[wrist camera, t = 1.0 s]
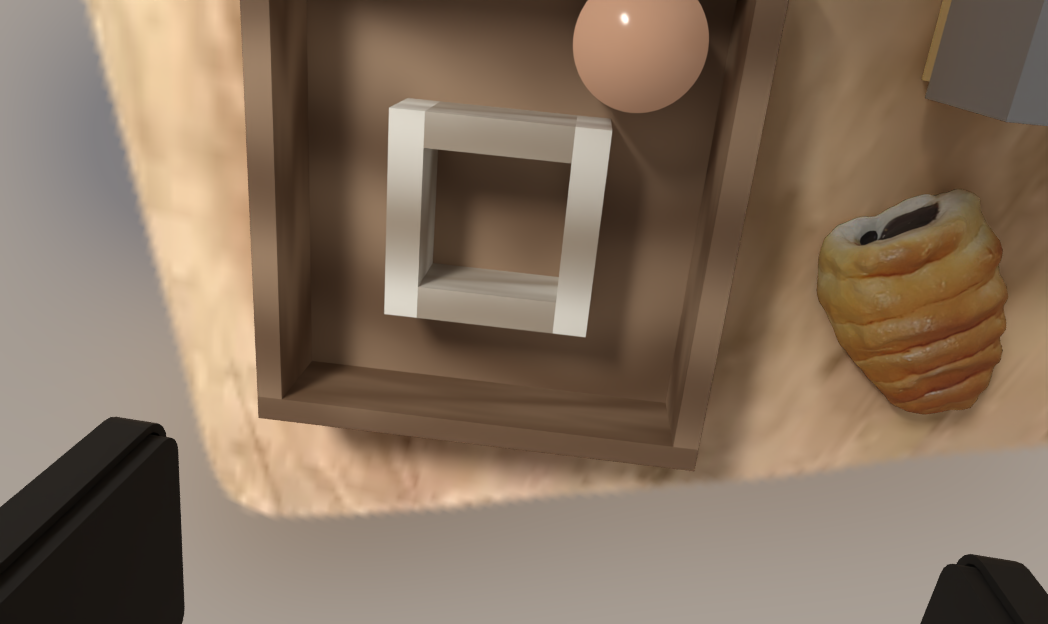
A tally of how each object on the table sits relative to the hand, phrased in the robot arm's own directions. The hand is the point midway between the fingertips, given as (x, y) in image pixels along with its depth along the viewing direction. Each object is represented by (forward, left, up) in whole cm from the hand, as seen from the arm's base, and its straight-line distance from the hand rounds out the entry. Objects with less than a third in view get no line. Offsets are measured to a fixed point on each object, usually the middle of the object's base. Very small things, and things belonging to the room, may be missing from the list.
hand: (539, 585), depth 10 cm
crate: (0, -3, -24) cm, 25 cm away
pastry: (+3, +14, -25) cm, 29 cm away
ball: (-6, +1, -24) cm, 24 cm away
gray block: (-7, +14, -24) cm, 29 cm away
